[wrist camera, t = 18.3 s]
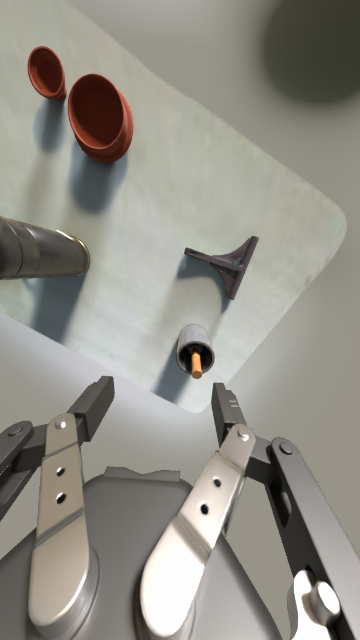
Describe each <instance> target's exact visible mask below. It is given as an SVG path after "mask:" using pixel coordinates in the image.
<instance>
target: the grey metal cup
mask: <svg viewBox="0 0 360 640" xmlns="http://www.w3.org/2000/svg"><path fill="white" fill-rule="evenodd" d="M192 343H200V344H202V347H203V350H202V352H201V353H200V362H201V370H202V374H203V373H205V372H207V371H208V370H209V369H210V368H211V367H212V366H213V363H214V359H215V356H214V352H213V349H212V345H211V342H210V339H209V335H208V333H207V331H206V329H205V328H204V327H202V326H200V325H197V324H190V325H187V326H186V327H184V328H183V329H182V330H181V332H180V335H179V341H178V348H177V355H176V361H177V364H178V366H179V367H180V368H181V370H183V371H184V372H186V373H188V374H191V375H192V360H191V354H189V352H188V350H187V345H188V344H192Z"/></svg>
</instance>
